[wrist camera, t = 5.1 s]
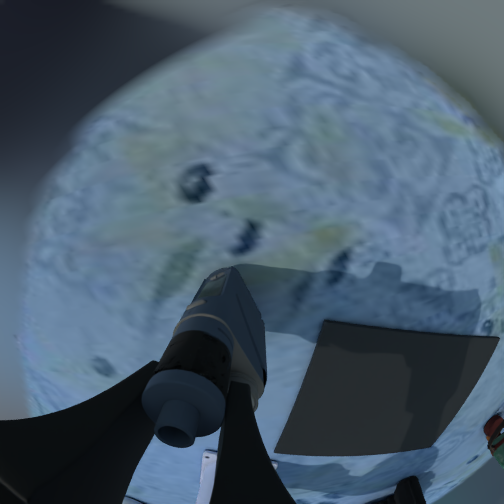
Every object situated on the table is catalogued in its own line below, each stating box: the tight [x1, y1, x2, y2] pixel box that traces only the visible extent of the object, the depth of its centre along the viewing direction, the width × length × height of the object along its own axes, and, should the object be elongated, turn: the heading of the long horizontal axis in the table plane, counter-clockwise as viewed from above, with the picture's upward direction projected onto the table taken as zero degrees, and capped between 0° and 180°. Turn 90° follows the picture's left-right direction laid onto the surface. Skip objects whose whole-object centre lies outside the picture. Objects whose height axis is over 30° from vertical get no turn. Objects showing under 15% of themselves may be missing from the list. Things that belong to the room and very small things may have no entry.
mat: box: [274, 320, 500, 456], centre depth 20 cm, size 16×20×1 cm
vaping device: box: [142, 267, 267, 448], centre depth 12 cm, size 3×5×12 cm, turn 26°
